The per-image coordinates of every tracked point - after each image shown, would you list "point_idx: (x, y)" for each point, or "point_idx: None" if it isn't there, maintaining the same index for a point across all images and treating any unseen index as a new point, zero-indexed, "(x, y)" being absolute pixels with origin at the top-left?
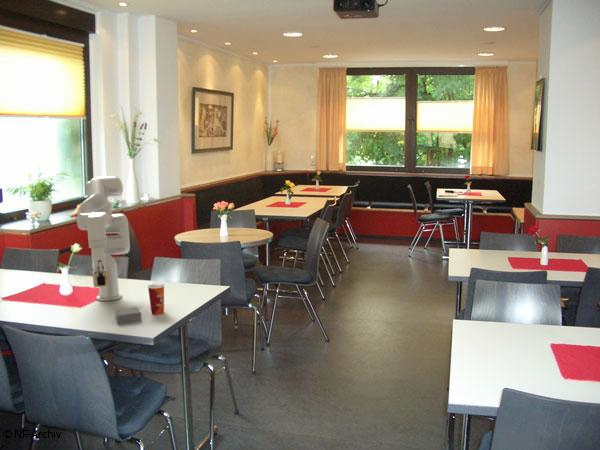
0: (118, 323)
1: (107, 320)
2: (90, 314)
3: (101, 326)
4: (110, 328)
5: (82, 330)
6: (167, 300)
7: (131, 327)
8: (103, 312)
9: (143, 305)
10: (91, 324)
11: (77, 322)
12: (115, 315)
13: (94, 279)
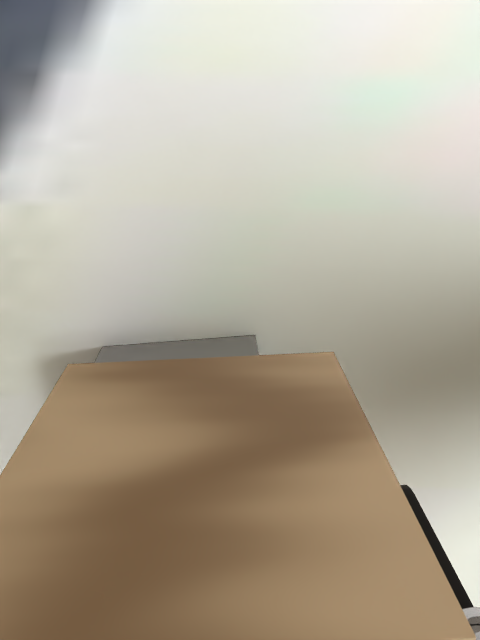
0: (101, 352)
1: (232, 286)
2: (469, 168)
3: (93, 241)
4: (23, 298)
5: (24, 89)
6: (470, 579)
7: (11, 413)
8: (459, 266)
9: (456, 485)
10: (175, 169)
11: (287, 48)
12: (220, 352)
13: (1, 501)
